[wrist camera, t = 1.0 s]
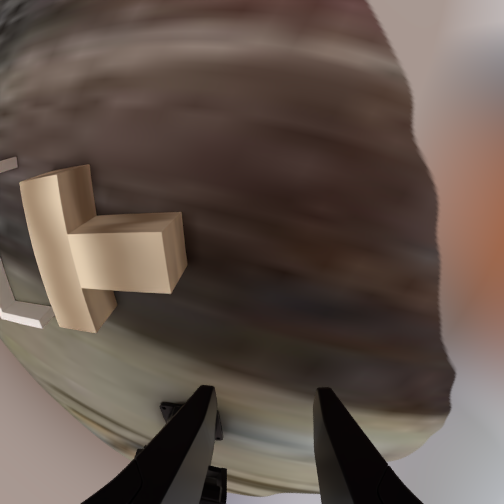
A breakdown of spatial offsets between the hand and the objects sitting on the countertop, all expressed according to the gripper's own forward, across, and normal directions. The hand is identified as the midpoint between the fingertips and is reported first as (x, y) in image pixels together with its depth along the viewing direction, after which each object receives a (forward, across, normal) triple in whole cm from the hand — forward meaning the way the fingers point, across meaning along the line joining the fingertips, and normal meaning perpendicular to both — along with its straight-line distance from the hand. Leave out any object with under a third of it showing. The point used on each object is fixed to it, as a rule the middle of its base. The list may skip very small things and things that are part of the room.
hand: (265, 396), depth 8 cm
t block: (+13, +12, 0) cm, 17 cm away
